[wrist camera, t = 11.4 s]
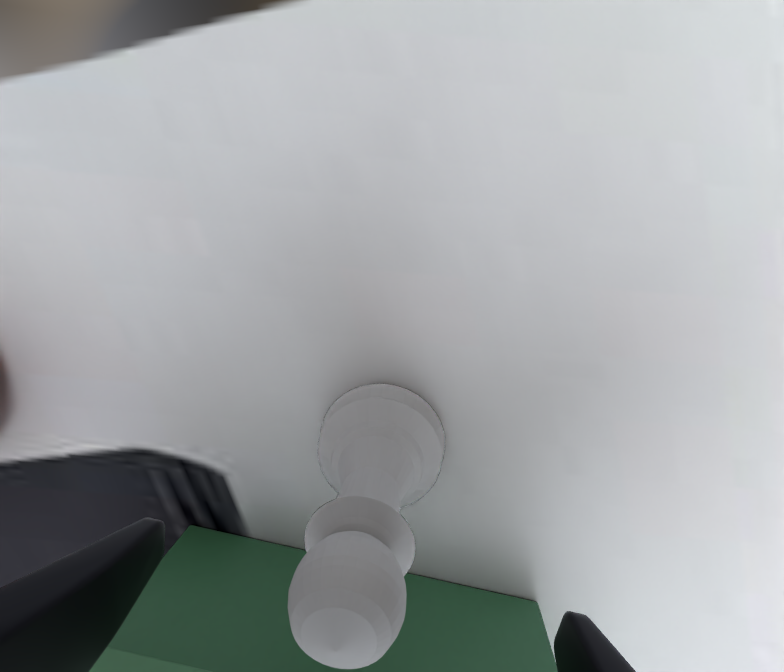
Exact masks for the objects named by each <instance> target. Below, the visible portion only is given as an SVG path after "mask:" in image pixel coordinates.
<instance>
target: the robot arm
mask: <svg viewBox="0 0 784 672" xmlns="http://www.w3.org/2000/svg"><path fill="white" fill-rule="evenodd" d="M164 544H165V524H164V522H163V521H161V520H156V519H152V518H144V519H141V520H139V521H137V522H135V523H133V524H131V525H129V526H127V527H125V528H123V529H121V530H119V531H116V532H114V533H112V534H110V535H108V536H106V537H104V538H102V539H100V540H98V541H96V542H94V543H92V544H90V545H88V546H86V547H84V548H82V549H79V550H77V551H75V552H73V553H71V554H69V555H67V556H65V557H63V558H61V559H59V560H57V561H55V562H53V563H51V564H49V565H47V566H45V567H42V568H40V569H38V570H36V571H34V572H32V573H30V574H28V575H26V576H24V577H22V578H20V579H18V580H16V581H14V582H12V583H10V584H8V585H5V586H3V587H1V588H0V672H89V671H90V669H91V668H92V667H93V665H94V664H95V663H96V661H97V660H98V659H99V657H100V656H101V654H102V653H103V652H104V650H105V649H106V648H107V646H108V645H109V643H110V642H111V640H112V639H113V638H114V636H115V635H116V633H117V632H118V630H119V628H120V627H121V625H122V624H123V622H124V620H125V619H126V617H127V616H128V614H129V612H130V611H131V609H132V607H133V606H134V604H135V603H136V601H137V599H138V598H139V596H140V594H141V593H142V591H143V589H144V588H145V586H146V585H147V583H148V581H149V580H150V578H151V576H152V575H153V573H154V571H155V570H156V568H157V567H158V565H159V563H160V561H161V559H162V557H163V554H164ZM554 653H555V659H556V665H557V671H558V672H636V671H635V670H634V669H633V668H632V667H631V666H630V664H629V663H628V662H627V661H626V660H625V659H624V657H623V656H622V655H621V654H620V653H619V652H618V651H617V649H616V648H615V647H614V646H613V645H612V644H611V643H610V641H609V640H608V639H607V638H606V637H605V636H604V634H603V633H602V632H601V631H600V630H599V629H598V628H597V626H596V625H595V624H594V623H593V622H592V621H591V620H590V619H589V618H588V617H587V616H586V615H584V614H580V613H575V612H571V611H567V612H566V613H565V614H564V616H563V618H562V621H561V624H560V626H559V629H558V632H557V634H556V637H555V641H554Z"/></svg>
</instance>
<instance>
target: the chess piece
mask: <svg viewBox="0 0 784 672" xmlns="http://www.w3.org/2000/svg"><path fill="white" fill-rule="evenodd" d="M444 452H445V434H444V431H443V427H442V424H441V422H440V420H439V418H438V416H437V414H436V413H435V411H434V410H433V409H432V408H431V406H430V405H429V404H428V403H427V402H426V401H425V400H423V399H422V398H421V397H420V396H418V395H417V394H415V393H413V392H411V391H410V390H408V389H405V388H402V387H399V386H396V385H389V384H369V385H364V386H360V387H357V388H355V389H352V390H350V391H348V392H346V393H345V394H344V395H342V396H341V397H339V398H338V399H337V400H336V401H335V402H334V403H333V404H332V406H331V407H330V408H329V410H328V412H327V413H326V415H325V417H324V420H323V423H322V426H321V434H320V438H319V441H318V459H319V464H320V467H321V470H322V473H323V475H324V476H325V478H326V480H327V481H328V483H329V484H330V485H331V486H332V488H333V489H334V490H335V491H336V492H337V493H338V496H337V498H336V499H334V500H332V501H329V502H327V503H326V504H324V505H323V506H321V507H320V508H319V509H318V510H317V511H316V512H315V513H314V514H313V515H312V516H311V518H310V520H309V521H308V523H307V526H306V529H305V537H304V542H305V549H306V552H307V553H306V555H305V556H304V557H303V558H302V560H301V561H300V563H299V565H298V566H297V569H296V571H295V573H294V576H293V579H292V581H291V584H290V587H289V593H288V614H289V620H290V626H291V630H292V634H293V636H294V639H295V641H296V642H297V644H298V645H299V647H300V648H301V649H302V650H303V651H304V652H305V653H306V654H307V655H308V656H310V657H311V658H313V659H314V660H316V661H318V662H320V663H322V664H324V665H327V666H330V667H334V668H339V669H357V668H362V667H365V666H369V665H370V664H372V663H374V662H376V661H377V660H379V659H380V658H381V657H382V656H383V655H384V654H385V653H386V651H387V650H388V649H389V647H390V646H391V645H392V644H393V642H394V641H395V639H396V638H397V636H398V634H399V631H400V629H401V627H402V624H403V622H404V618H405V612H406V595H407V593H406V583H405V580H404V576H405V575H406V573H407V572H408V571H409V569H410V568H411V566H412V563H413V561H414V558H415V552H416V546H415V539H414V535H413V532H412V530H411V528H410V526H409V524H408V523H407V521H406V520H405V519H404V518H403V517H402V515H401V514H400V508H402V507H405V506H408V505H410V504H412V503H414V502H416V501H417V500H419V499H421V498H422V497H423V496H424V495H425V494H426V493H427V492H428V491H430V489H431V488H432V486H433V485H434V483H435V482H436V480H437V478H438V475H439V473H440V469H441V463H442V460H443V457H444Z"/></svg>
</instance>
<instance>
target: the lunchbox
mask: <svg viewBox="0 0 784 672" xmlns="http://www.w3.org/2000/svg"><path fill="white" fill-rule="evenodd" d="M306 553H307V552H306V550H301V549H297V548H292V547H288V546H283V545H279V544H274V543H270V542H265V541H261V540H256V539H252V538H247V537H243V536H238V535H234V534H229V533H225V532H220V531H216V530H211V529H207V528H202V527H198V526H193V525H190V526H189V527H188V528H187V529H186V530H185V532H184V533H183V534H182V535H181V537H180V538H179V539H178V540H177V541H176V543H175V544H174V545H173V546H172V547H171V549H170V550H169V551H168V552H167V554H166V555H165V556H164V557H163V558H162V560H161V561H160V563H159V565H158V567H157V568H156V570H155V571H154V573H153V575H152V576H151V578H150V580H149V581H148V583H147V585H146V586H145V588H144V589H143V591H142V593H141V594H140V596H139V598H138V599H137V601H136V603H135V604H134V606H133V607H132V609H131V611H130V612H129V614H128V616H127V617H126V619H125V620H124V622H123V624H122V625H121V627H120V628H119V630H118V632H117V633H116V635H115V636H114V638H113V639H112V640H111V642H110V643H109V645H108V646H107V648H106V649H105V650H104V652H103V653H102V654H101V656H100V657H99V659H98V660H97V661H96V663H95V664H94V665H93V667H92V668H91V669H90V671H89V672H558V671H557V665H556V662H555V659H554V655H553V652H552V649H551V646H550V642H549V639H548V636H547V632H546V629H545V626H544V622H543V619H542V616H541V612H540V609H539V606H538V603H537V602H535V601H531V600H526V599H522V598H517V597H513V596H508V595H504V594H499V593H495V592H490V591H486V590H481V589H477V588H472V587H468V586H463V585H459V584H454V583H450V582H445V581H441V580H436V579H432V578H427V577H423V576H418V575H414V574H409V573H406V575H405V576H404V580H405V583H406V593H407V595H406V612H405V618H404V622H403V624H402V627H401V629H400V631H399V634H398V636H397V638H396V639H395V641H394V642H393V644H392V645H391V646H390V647H389V649H388V650H387V651H386V653H385V654H384V655H383V656H382V657H381V658H380V659H379V660H377V661H376V662H374V663H372V664H370V665H369V666H365V667H362V668H357V669H339V668H334V667H330V666H327V665H324V664H322V663H320V662H318V661H316V660H314V659H313V658H311V657H310V656H308V655H307V654H306V653H305V652H304V651H303V650H302V649H301V648H300V647H299V645H298V644H297V642H296V641H295V639H294V636H293V634H292V630H291V626H290V620H289V614H288V593H289V587H290V584H291V581H292V579H293V576H294V573H295V571H296V569H297V566H298V565H299V563H300V561H301V560H302V558H303V557H304V556H305V555H306Z"/></svg>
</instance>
